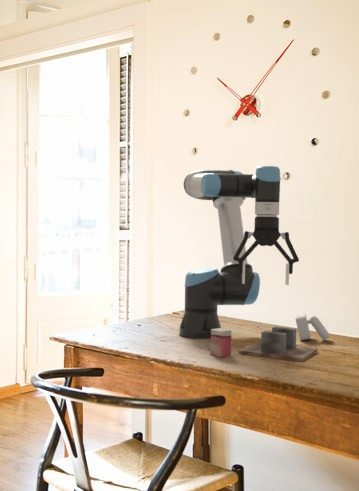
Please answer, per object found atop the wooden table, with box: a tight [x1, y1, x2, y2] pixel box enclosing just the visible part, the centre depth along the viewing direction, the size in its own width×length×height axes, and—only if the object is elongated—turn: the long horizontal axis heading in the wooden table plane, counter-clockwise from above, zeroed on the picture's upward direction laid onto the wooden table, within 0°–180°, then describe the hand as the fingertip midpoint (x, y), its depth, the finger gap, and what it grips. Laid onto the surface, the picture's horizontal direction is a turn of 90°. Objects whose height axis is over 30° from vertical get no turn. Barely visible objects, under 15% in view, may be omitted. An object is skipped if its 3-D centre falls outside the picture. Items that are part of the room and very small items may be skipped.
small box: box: [209, 327, 232, 358], centre depth 194 cm, size 5×4×8 cm
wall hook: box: [295, 313, 332, 342], centre depth 221 cm, size 8×10×10 cm
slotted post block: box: [238, 326, 318, 363], centre depth 199 cm, size 20×16×7 cm
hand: (265, 284), depth 200 cm, fingers open, 13 cm apart
